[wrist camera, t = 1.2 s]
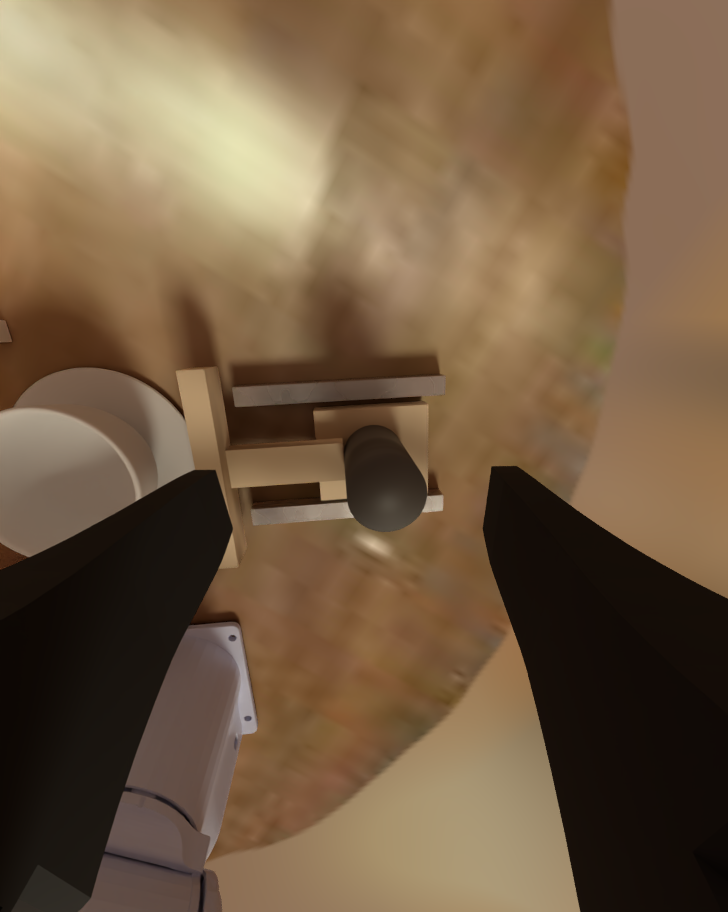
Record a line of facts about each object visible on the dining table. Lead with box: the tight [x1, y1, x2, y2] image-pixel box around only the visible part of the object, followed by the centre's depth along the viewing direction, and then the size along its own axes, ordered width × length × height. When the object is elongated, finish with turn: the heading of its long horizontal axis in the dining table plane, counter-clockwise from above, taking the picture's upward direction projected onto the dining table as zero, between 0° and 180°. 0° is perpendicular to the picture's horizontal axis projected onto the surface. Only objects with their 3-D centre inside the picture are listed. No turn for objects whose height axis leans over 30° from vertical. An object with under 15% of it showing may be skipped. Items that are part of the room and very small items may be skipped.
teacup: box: [0, 368, 195, 557], centre depth 18 cm, size 10×10×5 cm
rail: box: [232, 374, 445, 525], centre depth 21 cm, size 8×11×1 cm
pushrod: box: [176, 366, 428, 569], centre depth 18 cm, size 10×12×7 cm
